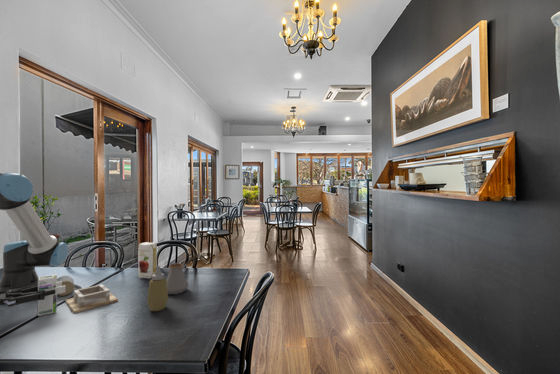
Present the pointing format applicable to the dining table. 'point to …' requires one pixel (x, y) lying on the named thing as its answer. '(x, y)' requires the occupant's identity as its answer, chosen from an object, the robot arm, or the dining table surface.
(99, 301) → the collar socket
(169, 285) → the coffee pot
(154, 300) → the squeeze bottle
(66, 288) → the grey tan cylinder
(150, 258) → the juice carton
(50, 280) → the syrup box
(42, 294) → the robot arm
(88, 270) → the dining table surface
